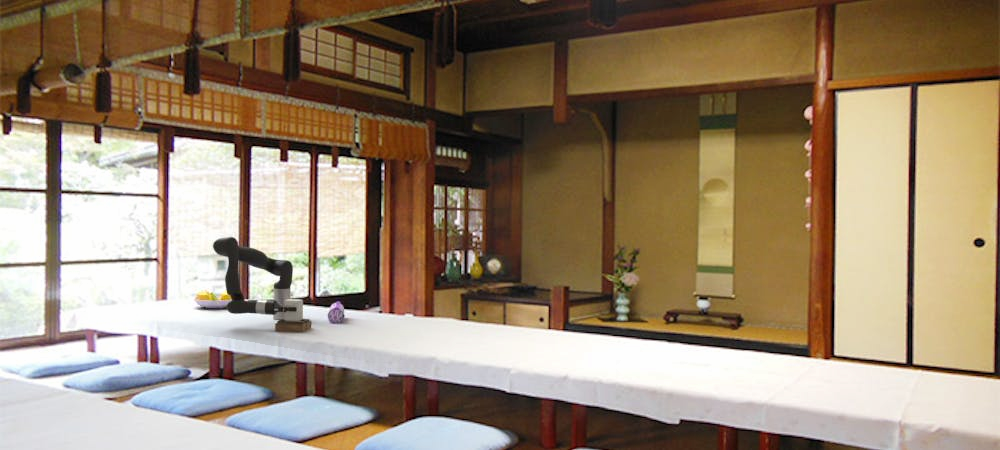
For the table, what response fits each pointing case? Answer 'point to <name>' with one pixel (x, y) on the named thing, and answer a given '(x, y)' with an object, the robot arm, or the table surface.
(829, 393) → the table surface
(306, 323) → the brown wooden tray
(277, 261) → the robot arm
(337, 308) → the pencil case
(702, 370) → the table surface
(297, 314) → the small box
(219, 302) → the fruit bowl
